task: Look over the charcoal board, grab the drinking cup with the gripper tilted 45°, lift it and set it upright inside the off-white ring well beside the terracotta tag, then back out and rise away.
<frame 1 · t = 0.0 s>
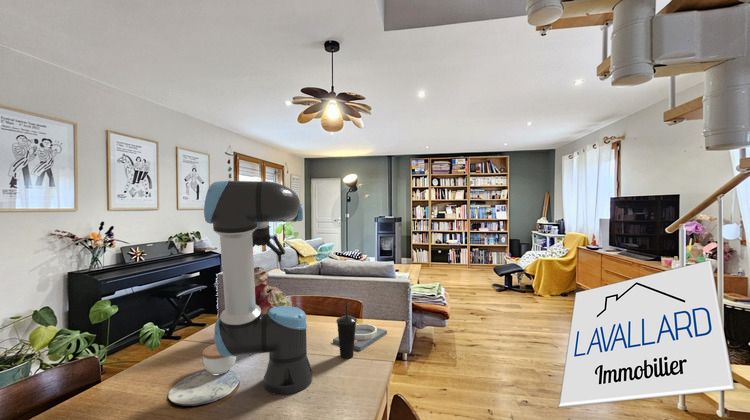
hand: (262, 268, 148), 28 cm above the table, tool tilted 20°, fingers open, 13 cm apart
lidded jar: (220, 371, 110), on the table
rose bouquet: (261, 337, 139), on the table
drinking cup: (346, 356, 121), on the table
ring board: (360, 338, 137), on the table
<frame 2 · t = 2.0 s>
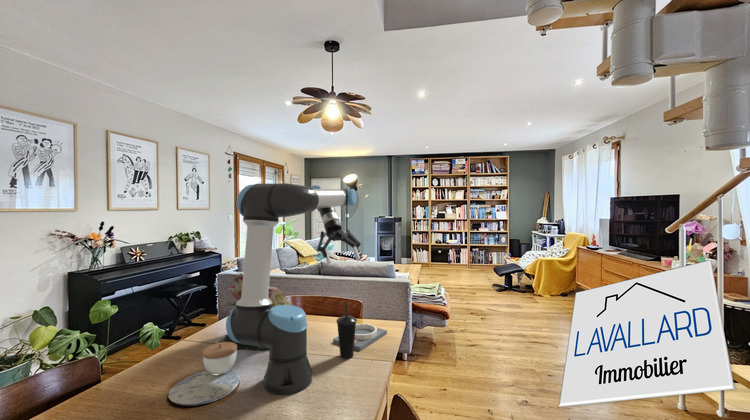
hand: (344, 261, 139), 32 cm above the table, tool tilted 45°, fingers open, 13 cm apart
nothing on the table moved.
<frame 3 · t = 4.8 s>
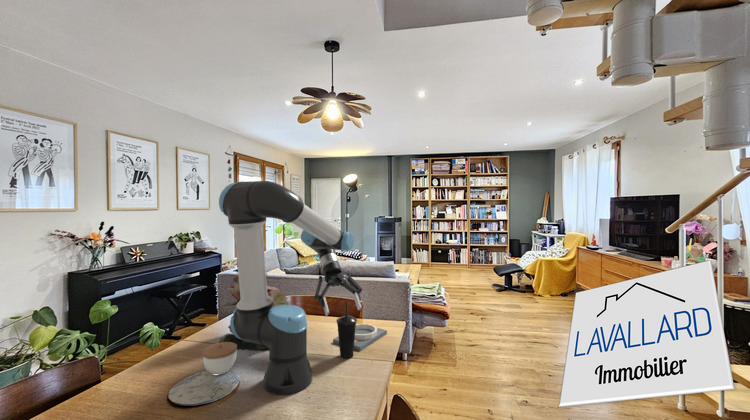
hand: (344, 311, 126), 15 cm above the table, tool tilted 45°, fingers open, 13 cm apart
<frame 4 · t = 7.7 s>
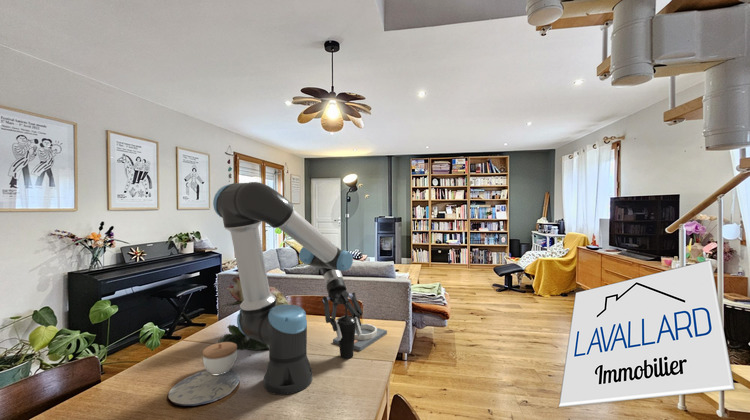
hand: (350, 336, 118), 9 cm above the table, tool tilted 45°, fingers closed on drinking cup, 7 cm apart
drinking cup: (346, 356, 121), on the table, touching gripper
everything else where it was.
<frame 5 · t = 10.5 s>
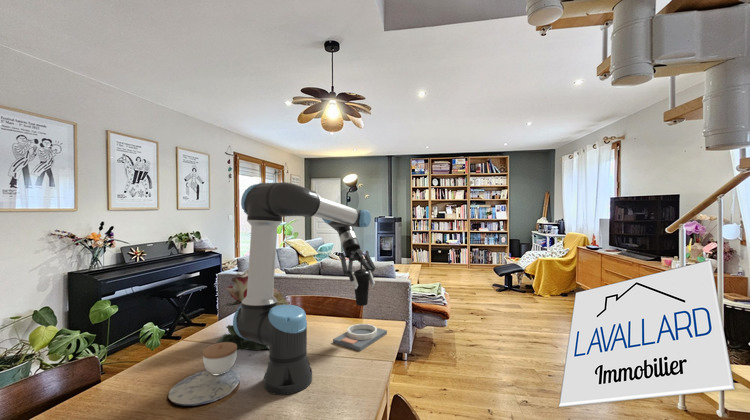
hand: (365, 286, 134), 23 cm above the table, tool tilted 45°, fingers closed on drinking cup, 7 cm apart
drinking cup: (361, 304, 137), point 14 cm above the table, touching gripper
when the fingers open (11 cm above the table, at t = 13.6 s): drinking cup drops 1 cm, resting on ring board.
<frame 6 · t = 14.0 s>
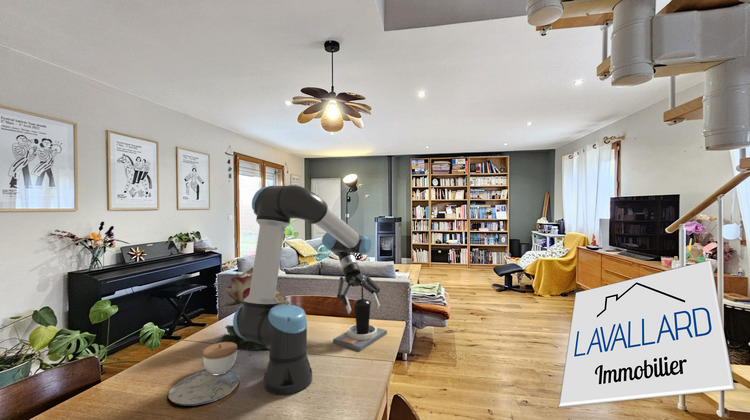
hand: (364, 309, 135), 13 cm above the table, tool tilted 45°, fingers open, 13 cm apart
drinking cup: (362, 334, 138), point 1 cm above the table, touching ring board
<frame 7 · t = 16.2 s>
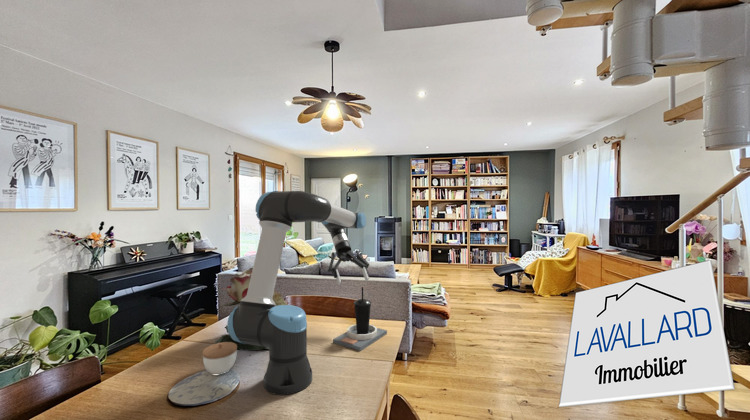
hand: (353, 281, 146), 22 cm above the table, tool tilted 45°, fingers open, 13 cm apart
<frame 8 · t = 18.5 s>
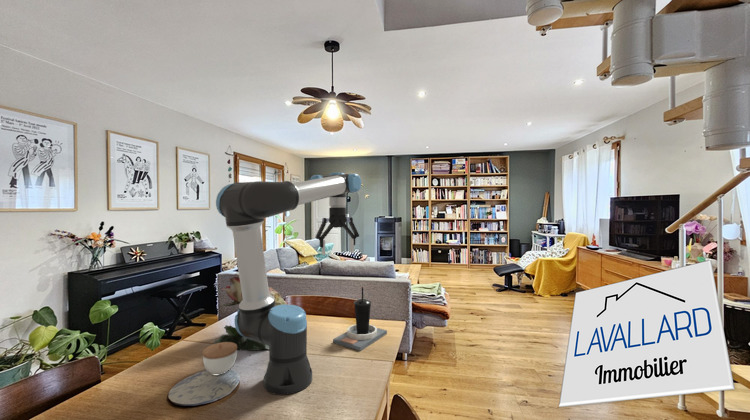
hand: (337, 253, 146), 35 cm above the table, tool pointing down, fingers open, 13 cm apart
at the end: drinking cup 0.2 cm from the target spot on the ring board, point 1.3 cm above the ring board's base; drinking cup tilted 0°; the gripper is holding nothing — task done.
